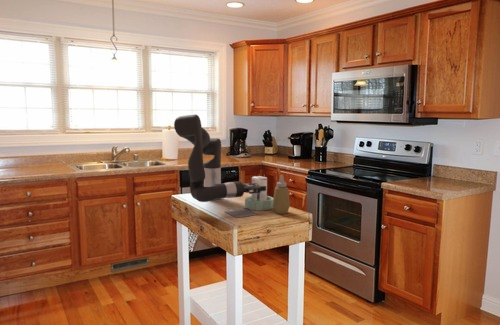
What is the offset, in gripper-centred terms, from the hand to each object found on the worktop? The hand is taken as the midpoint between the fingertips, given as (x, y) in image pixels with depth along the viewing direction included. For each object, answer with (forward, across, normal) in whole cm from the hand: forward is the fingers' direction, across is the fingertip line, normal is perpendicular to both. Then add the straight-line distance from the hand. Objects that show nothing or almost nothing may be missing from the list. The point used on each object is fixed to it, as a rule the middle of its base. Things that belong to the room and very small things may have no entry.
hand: (261, 186), depth 197 cm
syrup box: (-1, 0, +10) cm, 10 cm away
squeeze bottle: (+2, -15, +10) cm, 18 cm away
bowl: (-1, 0, +10) cm, 10 cm away
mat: (-15, -7, +10) cm, 19 cm away
